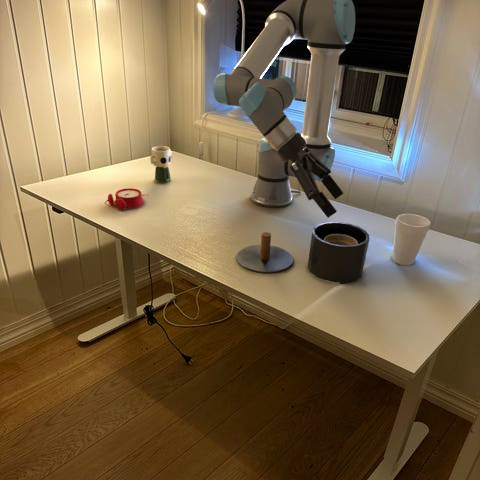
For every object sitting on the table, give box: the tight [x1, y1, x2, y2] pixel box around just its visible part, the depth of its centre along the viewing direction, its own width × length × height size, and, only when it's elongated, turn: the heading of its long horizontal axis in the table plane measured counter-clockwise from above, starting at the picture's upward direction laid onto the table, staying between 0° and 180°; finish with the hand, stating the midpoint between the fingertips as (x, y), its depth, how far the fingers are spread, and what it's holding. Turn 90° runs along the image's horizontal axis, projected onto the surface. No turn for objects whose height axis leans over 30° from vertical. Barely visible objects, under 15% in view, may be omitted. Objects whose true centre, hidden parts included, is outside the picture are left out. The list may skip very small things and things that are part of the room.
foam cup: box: [392, 213, 431, 266], centre depth 143 cm, size 10×9×13 cm
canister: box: [306, 221, 370, 285], centre depth 137 cm, size 16×16×12 cm
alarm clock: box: [104, 187, 149, 211], centre depth 172 cm, size 10×6×15 cm
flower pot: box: [324, 234, 358, 245], centre depth 137 cm, size 9×9×9 cm
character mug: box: [149, 145, 173, 184], centre depth 191 cm, size 11×7×13 cm, turn 139°
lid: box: [235, 231, 294, 274], centre depth 140 cm, size 17×17×9 cm
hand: (336, 205), depth 129 cm, fingers open, 13 cm apart
